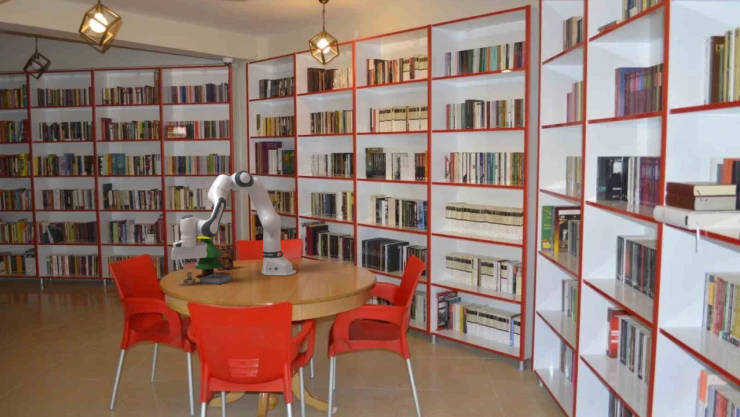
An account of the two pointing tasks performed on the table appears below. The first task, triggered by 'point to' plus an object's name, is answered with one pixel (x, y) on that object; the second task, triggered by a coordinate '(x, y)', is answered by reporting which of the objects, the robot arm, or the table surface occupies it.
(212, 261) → the decorative tree
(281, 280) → the table surface
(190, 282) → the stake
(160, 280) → the table surface
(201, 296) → the table surface
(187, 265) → the ring
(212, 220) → the robot arm
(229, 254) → the wooden figurine
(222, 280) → the tray
